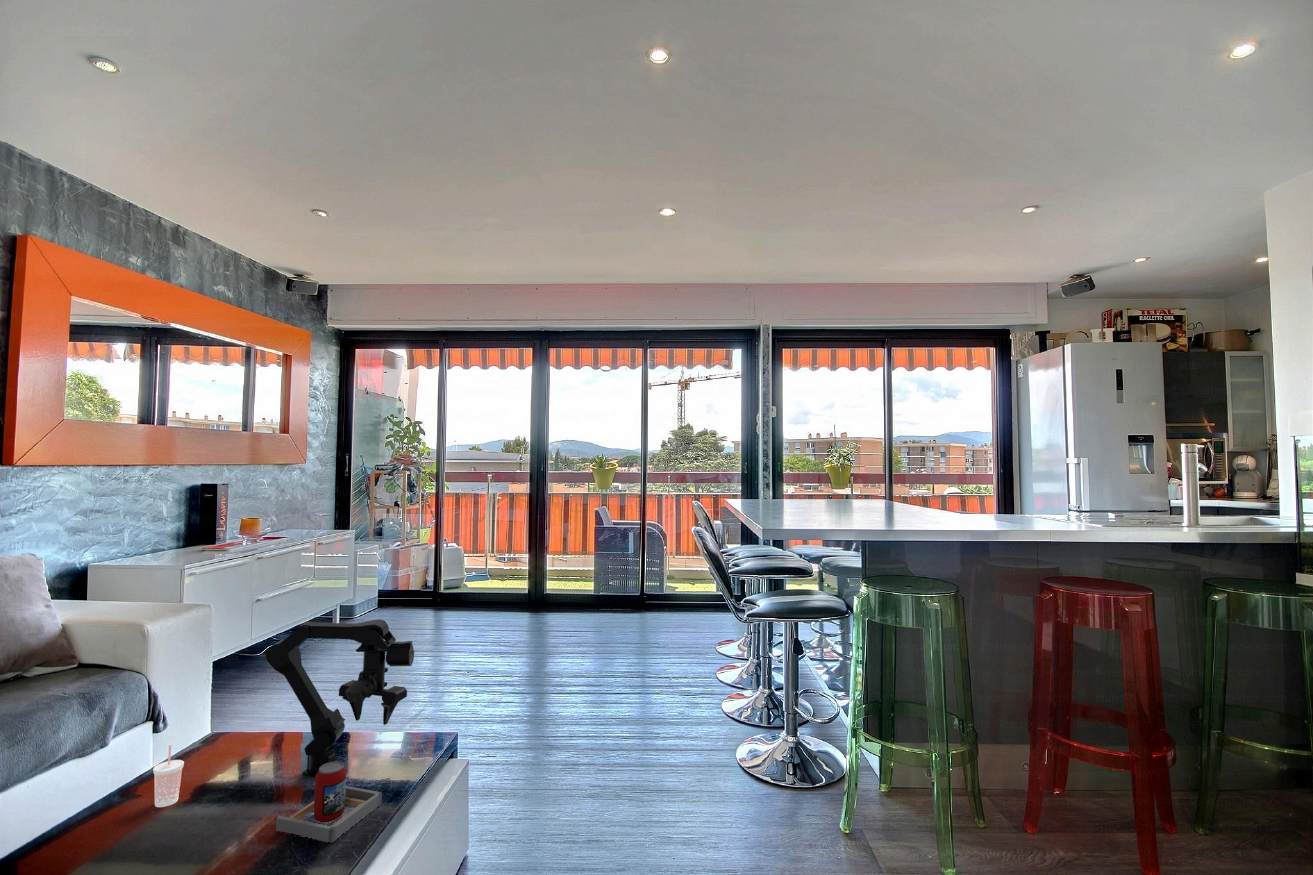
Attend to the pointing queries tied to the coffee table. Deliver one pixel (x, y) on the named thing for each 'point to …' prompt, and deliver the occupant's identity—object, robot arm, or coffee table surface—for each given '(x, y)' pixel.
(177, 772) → the beverage cup
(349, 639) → the robot arm
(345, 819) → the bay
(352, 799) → the tray
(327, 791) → the beverage can
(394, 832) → the coffee table surface
